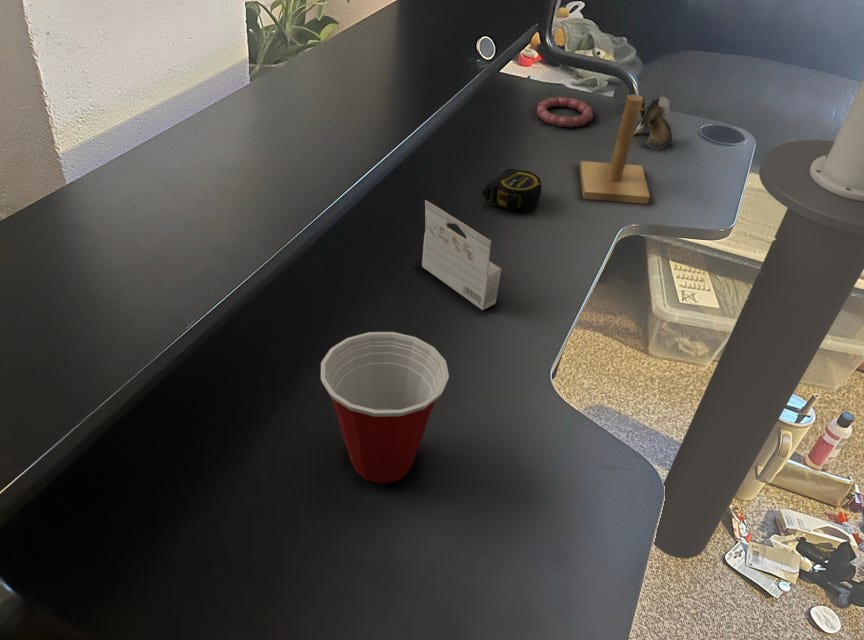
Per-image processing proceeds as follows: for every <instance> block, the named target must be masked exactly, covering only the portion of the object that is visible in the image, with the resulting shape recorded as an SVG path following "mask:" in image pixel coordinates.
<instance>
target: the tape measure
mask: <svg viewBox="0 0 864 640" xmlns="http://www.w3.org/2000/svg"><path fill="white" fill-rule="evenodd" d="M542 186H543V185H542V180H541V179H540V177H539V176H538V175H537V174H535V173H533V172H532V171H529V170H524V169H523V170H522V169H516V168H515V169H514V168H506V169H505V170H504V171H503V172H502V173H500V175H498V176H497V177H496V178H494V179H493V180H491V181H489V183H487V185H486V186H485V188H482V190H481V191H482V193H481V196H482V197H484V199H485V201H486V202H487V203H488V204H489V203H490V204H497V205H498V206H500V207H502V208H504V209H506V210H511V211H525V210H528V209H532V208H533V207H535V206H536V205H537V204H538V202H539V201H540V198H541V195H542V194H541V193H542Z"/></svg>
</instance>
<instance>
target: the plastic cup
mask: <svg viewBox="0 0 864 640" xmlns="http://www.w3.org/2000/svg"><path fill="white" fill-rule="evenodd" d="M449 378H450V374H449V370H448V364H447V360H446V359H445V358H444V357H443V355H441V354H440V352H439V351H438V350H437V349H436V347H434V346H433V345H431V344H429V343H427V342H425V341H423V340H421V339H419V338H418V337H416V336H413V335H407V334H404V333H400V332H395V331H369V332H365V333H361V334H357V335H353V336H350V337H347V338H344V339H343V340H342V341H340V342H339V343H337V344H335V345H334V346H332V347H331V348H330V349H329V350H328V352H327V353H326V354H325V356H324V357H323V359H322V360H321V362H320V381H321V383H322V385H323V387H324V388H325V390H326V391H327V393H328V395H329V397H330V398H331V402H332V405H333V406H334V409H335V413H336V416H337V417H336V418H337V421H338V424H339V428H340V431H341V434H342V439H343V442H344V445H345V447H346V450H347V453H348V456H349V460H350V462H351V464H352V466H353V468H354V470H355V472H356V473H357V475H358V476H360V477H361V478H363V479H364V480H366V481H369V482H372V483H375V484H390V483H394V482H396V481H399V480H401V479H402V478H403V477H405V476H406V475H407V474H408V473H409V471H410V470H411V469H412V466H413V464H414V461H415V458H416V455H417V452H418V450H419V447H420V444H421V442H422V440H423V436H424V434H425V430H426V427H427V425H428V421H429V418H430V416H431V412H432V410H433V408H434V406H435V403H436V401H437V400H438V399H439V398H440V397H442V395H443V394H442V393H443V392H444V390H445V387H446V385H447V383H448V381H449Z"/></svg>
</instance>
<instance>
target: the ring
mask: <svg viewBox="0 0 864 640" xmlns="http://www.w3.org/2000/svg"><path fill="white" fill-rule="evenodd" d="M552 108H569V109H571V110H575V111H578V112H579V113H580V114H581V115H576V116H560V115H558V114H554V113H552V112H550V111H549V110H548V109H552ZM536 115H537V117H538V118H539V119H540V120H542V121H543V122H544V123H546V124H549V125H552V126H554V127H560V128H571V129H572V128H578V127H584V126H585V125H587V124H588V123H589V122H590V121H592V120H593V119H594V112H593V107H591V106H590V105H589V104H587V103H586V102H584V101H583V100H580V99H577V98H573V97H566V96H555V97H550V98H549V97H548V98H544V99H543V100H542V101H540V102H539V103H538V104H537V105H536Z"/></svg>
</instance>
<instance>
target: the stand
mask: <svg viewBox="0 0 864 640" xmlns="http://www.w3.org/2000/svg"><path fill="white" fill-rule="evenodd" d="M643 98H644V97H643V96H641V95H639V94H628V95H627V96H626V100H625V104H624V108H623V114H622V116H621V121H620V123H619V124H620V125H619V129H618V132H617V137H616V141H615V145H614V149H613V153H612V156H611V161H610V162H599V161H588V160H587V161H585V160H581V161H580V163H579V177H580V183H581V192H582V198H583V200H591V201H593V200H594V201H603V202H605V201H606V202H617V203H629V204H641V205H649V202H650V199H651V195H650V191H649V187H648V183H647V180H646V176H645V171H644V168H643V165H637V164H627V160H628V157H629V153H630V149H631V145H632V141H633V137H634V135H635V134H634V132H635V131H636V126H637V122H638V119H639V114H640V107H641V103H642V100H643Z"/></svg>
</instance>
